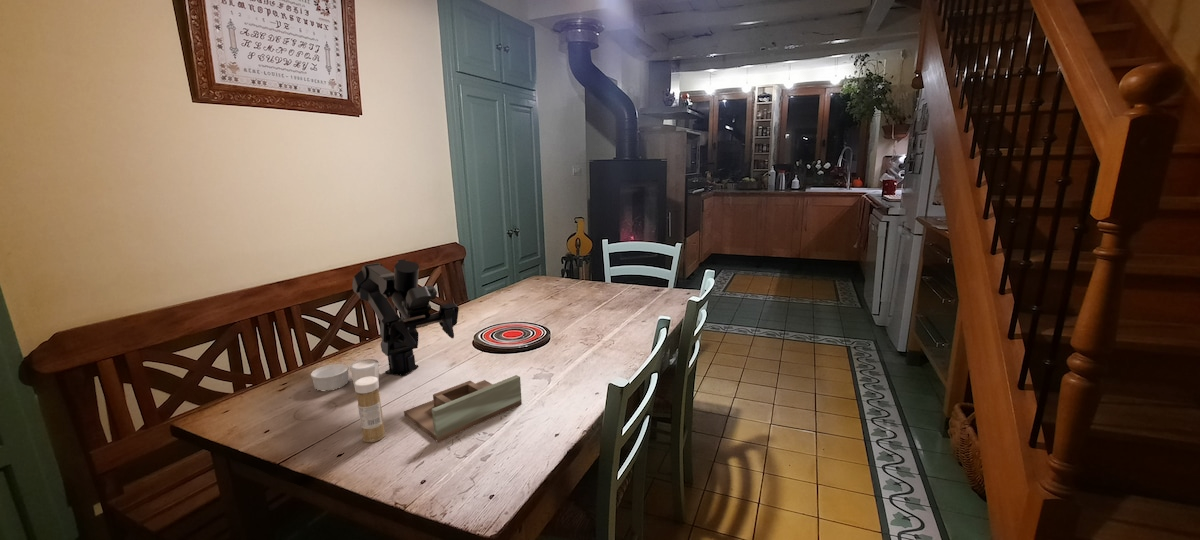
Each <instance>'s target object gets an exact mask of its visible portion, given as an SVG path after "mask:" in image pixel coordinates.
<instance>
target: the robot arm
mask: <svg viewBox="0 0 1200 540" xmlns="http://www.w3.org/2000/svg"><path fill="white" fill-rule="evenodd" d="M396 261H397V262H396V263H395V264H394V271H391V270H389V269H387V268H386V267H384V266H383V264H382V263H379V262H375V263H369V264H365V265H363V266H362V267H361V270H360V271H359V272H358V273H356V274H355V275H354V276H353V279H352V284H351V285H352V291H353V292H354V294H356V295H357V296H358V298H359V299H361V301H362V300H363V301H366V302H367V303H368V304H369V305H370V306H371V308H372V310H373V311H374V313H375V315H376V316H377V318H378V320H379V322H380V325H379V326H380V328H379V329H380V330H379V333H380V335H379V336H380V338H381V342H380V348H381V352H382V353H383V354H384V355H385V356H387V362H388V369H386V370H385V374H388V375H395V376H400V377H403V376H406V375H408V374H409V373H411V372H413V371H414V370H416V369H418V368H419V365H418V364H416V359H415V354H414V350H415V349H418V347H419V332H418V330H417V329H419V328H420V329H421V328H424V327H428V326H430V325H434V324H439V325H440V327H441V329H442V331H444V333H445V334H446V335H447V336H448V337H449V338H451V340H453V339H454V338H455V333H454V329H453V328H454V327H455V326H456V325H457V323H458V317H459V309H460V307H459V306H458V305H457V304H456V303H455V302H450V303H445V304H441V305H439V308H438V309H439V311H438V312H437V313H432V314H431V313H430V311H432V306H431V304H430V302H431V300H436V298H437V295H438V293H437V290H436V288H435V287H434V286H433V285H426V286H425V285H423V286H419V272H420V271H419V270H420V268H419V267H420V266H419V264H418V263H415V262H413V261H410V260H407V259H405V258H404V259H398V260H396ZM418 286H419V287H418ZM388 298H391V301H392V302H393V305H394V306H393V305H392V303H391V302H390V301H389V299H388ZM396 311H397V312H399V313H400V315H401V316H399V314H397V312H396Z"/></svg>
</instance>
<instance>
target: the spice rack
mask: <svg viewBox="0 0 1200 540" xmlns="http://www.w3.org/2000/svg"><path fill="white" fill-rule="evenodd" d="M521 387H522V385H521V376H520V375H517V374H515V375H513V376H510V377H508V378H505V379H502V380H501V381H498V382H496V383H491V382H489V381H487V380H486V379H483V380H481V381H478V382H476V383H475V382H473V381H472V380H468V381H465V382H462V383H459V384H456V385H455V386H452V387H449V388H447V389H446V388H445V389H444V390H441V391H439V392H435V393H434V394H432V399H431V400H429V401H427V402H425V403H422V404H420V405H417V406H414V407H412V408H409V409H406V410H403V415H404V417H405V418H407V420H409V421H410V422H411V423H413V424H415V425H416V426H417V427H418V428H419V429H421V430H422V431H423V432H424V433H425V434H427V435H428V436H429V437H431V438H432V439H434V441H436V442H438V443H440V442H443V441H444V440H447V439H449V438H451V437H453V436H455V435H457V434H460V433H462V432H464V431H466V430H468V429H470V428H472V427H475V426H477V425H478V424H479V425H480V424H481V423H484V422H486V421H488V420H489V419H492V418H494V417H496V416H497V417H498V416H499V415H501V414H503V413H505V412H508V411H510V410H512V409H514V408H517V407H519V406H521V405H523V403H522V402H523V401H522V388H521Z"/></svg>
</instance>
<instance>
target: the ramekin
mask: <svg viewBox="0 0 1200 540" xmlns="http://www.w3.org/2000/svg"><path fill="white" fill-rule="evenodd" d="M349 369H350V366H349V365H346V364H344V363H333V364H327V365H324V366H320V367H317V368H316V369H314V370H312V372H311V373H310V377H311V379H312V382H313V386H314V389H315V390H316V389H317V390H316V391H318V390H332V391H334V390H333V389H336V390H338V389H337V388H339V387H341V388H343V387H344V385H345V384H346V385H347V384H348V383H349ZM346 385H345V386H346ZM342 386H343V387H342ZM339 389H340V388H339Z"/></svg>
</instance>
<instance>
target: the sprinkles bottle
mask: <svg viewBox="0 0 1200 540" xmlns="http://www.w3.org/2000/svg"><path fill="white" fill-rule="evenodd" d="M354 385H355V387H354V390H355V391H354V392H355V394H356V397H357V403H358V404H357V408H358V415H359V423H360V427H361V431H362V440H363V442H365V443H374V442H378V441H379V440H380V441H381V440H382V439H383V438H384V437H385V436H386V431H385V426H384V416H383V409H382V404H381V396H380V390H379V389H380V381H379V382H378V378H376V377H373V376H369V377H364V378H361V379H359V380H357V381H356V382H355V384H354V383H353V386H354Z"/></svg>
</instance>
